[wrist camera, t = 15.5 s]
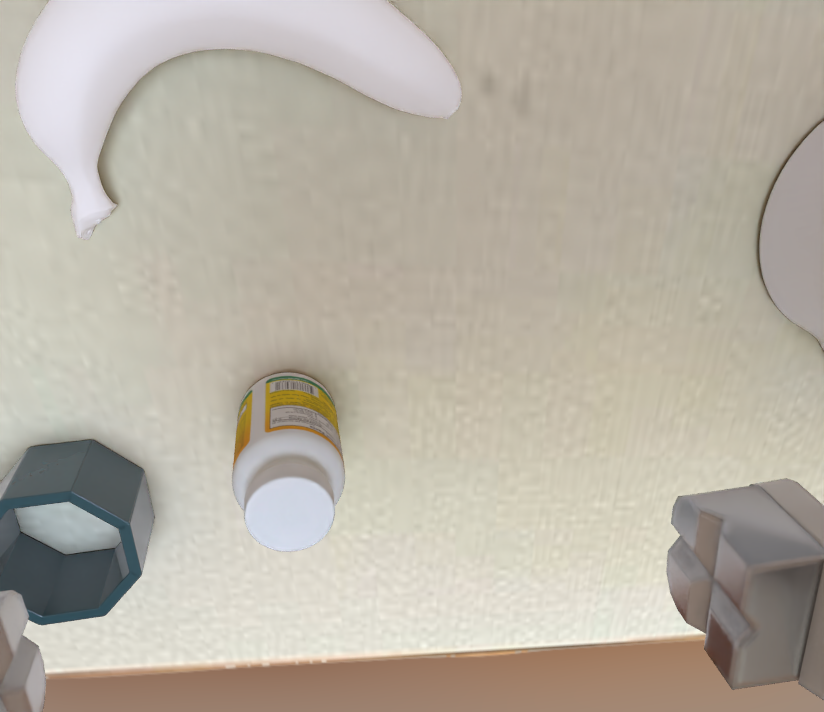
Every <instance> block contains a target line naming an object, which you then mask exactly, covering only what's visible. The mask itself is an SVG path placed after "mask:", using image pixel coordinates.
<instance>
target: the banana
mask: <svg viewBox="0 0 824 712" xmlns="http://www.w3.org/2000/svg"><path fill="white" fill-rule="evenodd" d="M212 49H238V50H248V51H256V52H261V53H266V54H270V55H274V56H277V57H281V58H284V59H288V60H291V61H294V62H297V63H300V64H303V65H305V66H308V67H310V68H312V69H315V70H317V71H319V72H322V73H324V74H326V75H329V76H331V77H333V78H335V79H337V80H339V81H340V82H342V83H344V84H346V85H348V86H350V87H351V88H353V89H355V90H357V91H359V92H360V93H362V94H364V95H366V96H368V97H370V98H372V99H374V100H376V101H378V102H380V103H383V104H385V105H387V106H389V107H392V108H394V109H397V110H400V111H403V112H406V113H410V114H415V115H420V116H424V117H431V118H440V117H443V118H445V119H448V118H449V117H450V116H451V115H452V114H453V113H454V112H455V111H457V110H458V108H459V105H460V102H461V97H462V89H461V84H460V81H459V79H458V77H457V74H456V72H455V71H454V69H453V67H452V65H451V64H450V62H449V61H448V59H447V58H446V56H445V55H444V54H443V53H442V52H441V50H440V49H439V48H438V47H437V46H436V45H435V44H434V42H433V41H432V40H431V39H430V38H429V37H428V36H427V35H426V34H425V33H424V32H423V31H421V30H420V29H419V28H418V27H417V26H416V25H415V24H414V23H413V22H412V21H410V20H409V19H408V18H407V17H406V16H405V15H403V14H402V13H401V12H400V11H399V10H398V9H396V8H395V7H394V6H393V5H391V4H390V3H389V2H388V1H387V0H49V1H48V3H47V4H46V6H45V7H44V9H43V10H42V12H41V13H40V14H39V16H38V17H37V19H36V21H35V23H34V24H33V26H32V28H31V30H30V32H29V34H28V36H27V38H26V40H25V43H24V46H23V48H22V51H21V54H20V58H19V63H18V67H17V74H16V83H15V88H16V102H17V106H18V111H19V114H20V117H21V119H22V122H23V124H24V127H25V129H26V131H27V132H28V134H29V135H30V137H31V139H32V140H33V142H34V143H35V144H36V145H37V147H38V148H39V149H40V150H41V151H42V152H43V153H44V154H45V155H46V156H47V157H48V158H50V159H51V160H52V162H53V163H54V164H55V165H56V166H57V167H58V168H59V169H60V171H61V172H62V174H63V175H64V176H65V178H66V180H67V182H68V185H69V187H70V190H71V194H72V204H71V216H72V219H73V223H74V227H75V231H76V234H77V236H78V238H83V239H84V240H88V239H89V238H90V237H91V235H92V233H93V230H94V228H95V226H96V224H99V223H100V222H101V221H102V220H104V219H105V218H107V217H109V216H110V213H111V211H112V210H113V209H114V208H115V207H116V206H117V205H118V204H115V203H113V202H112V201H111V200H110V198H109V197H108V196H107V195H106V193H105V191H104V189H103V187H102V184H101V181H100V177H99V174H98V169H97V164H98V159H99V156H100V153H101V150H102V147H103V144H104V141H105V138H106V135H107V133H108V130H109V127H110V125H111V122H112V120H113V118H114V116H115V114H116V112H117V110H118V108H119V106H120V105H121V103H122V101H123V100H124V98H125V97H126V96H127V94H128V93H129V91H130V90H131V89H132V88H133V87H134V86H135V84H136V83H137V82H138V81H139V80H140V79H141V78H142V77H143V76H144V75H145V74H147V73H148V72H149V71H150V70H152V69H153V68H155V67H156V66H158V65H160V64H161V63H163V62H165V61H167V60H169V59H172V58H174V57H177V56H180V55H184V54H187V53H191V52H196V51H203V50H212Z"/></svg>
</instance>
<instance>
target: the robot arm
mask: <svg viewBox="0 0 824 712" xmlns="http://www.w3.org/2000/svg"><path fill="white" fill-rule="evenodd" d="M759 256H760V266H761V271H762V276H763V279H764V283H765V286H766V288H767V291H768V293H769V295H770V297H771V298H772V300H773V302H774V303H775V305H776V306H777V307H778V309H779V310H780V311H781V312H782V313H783V314H784V315H785V316H786V317H787V318H788V319H789V320H790V321H792V322H793V323H794V324H796V325H798V326H799V327H801V328H802V329H804V330H806V331H807V332H809V333H810V334H812V335H813V336H814V337H815V338H817V339H818V341H819V343H820V345H821V347H822V349H823V351H824V121H823V122H821V123H820V124H819V125H818V126H817V127H816V128H815V129H814V130H813V131H812V132H811V133H810V134H809V135H808V136H807V137H806V138H805V139H804V141H803V142H802V143H801V144H800V145H799V147H798V148H797V149H796V150H795V152H794V153H793V154H792V156H791V157H790V159H789V160H788V162H787V163H786V165H785V166H784V168H783V170H782V172H781V173H780V175H779V177H778V179H777V181H776V183H775V185H774V187H773V189H772V192H771V194H770V197H769V200H768V202H767V205H766V209H765V212H764V216H763V220H762V225H761V231H760V242H759ZM671 524H672V525H673V526H674V528H675V529H676V530H677V531H678V533H679V534H680V537H679V538H678V539H677V540H676V542H675V543H674V544H673V545H672V546H671V548H670V549H669V550H668V557H667V577H668V583H669V588H670V593H671V595H672V598H673V600H674V602H675V605H676V607H677V609H678V611H679V612H680V614H681V615H682V617H683V618H684V620H685V621H686V623H688V624H690V625H691V626H693V627H695V628H697V629H699V630H701V631H702V632H704V633H706V638H705V646H704V649H705V651H706V652H707V654H708V655H709V657H710V658H711V660H712V661H713V662H714V664H715V665H716V666H717V668H718V670H719V671H720V673H721V674H722V676H723V677H724V678H725V680H726V681H727V683H728V684H729V686H730V687H731V689H732V690H735V689H741V688H748V687H755V686H762V685H769V684H775V683H782V682H789V681H796V680H799V682H798V683H799V684H800V685H801V686H803V687H804V688H806V689H807V690H809V691H810V692H812V693H813V694H815V695H816V696H818V697H819V698H821V699H822V700H824V506H823V505H822V504H821V503H820V502H819V501H818V500H817V499H816V498H814V497H813V496H812V495H811V494H810V493H809V492H808V491H807V490H805V489H804V488H803V487H802V486H801V485H800V484H799V483H798V482H795V481H793V480H790V479H787V478H786V479H780V480H774V481H768V482H762V483H756V484H751V485H750V486H746V487H739V488H732V489H725V490H719V491H712V492H705V493H698V494H691V495H684V496H678V498H677V500H676V502H675V504H674V506H673V511H672V519H671ZM28 619H29V615H28V612H27V609H26V607H25V604H24V601H23V599H22V596H21V594H19V593H17V592H15V591H13V590H8V591H0V712H43V709H44V700H45V687H46V678H45V670H44V662H43V659H42V655H41V652H40V649H39V646H38V645H36V644H35V643H34V642H32V641H31V640H29V639H28V638H26V637H25V636H23V635H22V634H23V632H24V629H25V626H26V624H27V621H28Z"/></svg>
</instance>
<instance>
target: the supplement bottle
mask: <svg viewBox="0 0 824 712" xmlns="http://www.w3.org/2000/svg"><path fill="white" fill-rule="evenodd" d="M344 483H345V469H344V461H343V455H342V448H341V442H340V436H339V429H338V422H337V415H336V409H335V405H334V402H333V399H332V397H331V396H330V394H329V393H328V391H327V390H326V389H325V388H324V387H323V386H322V385H321V384H320V383H319V382H317V381H316V380H314V379H312V378H310V377H308V376H305V375H302V374H298V373H278V374H274V375H270V376H268V377H265V378H263V379H262V380H260V381H258V382H257V383H256V384H254V385H253V386H252V387H251V388H250V389H249V390H248V391H247V393H246V394H245V396H244V398H243V400H242V402H241V405H240V408H239V413H238V423H237V431H236V442H235V453H234V463H233V473H232V486H233V491H234V495H235V497H236V500H237V502H238V504H239V505H240V507H241V508H242V509H243V510H244V519H245V523H246V526H247V529H248V531H249V532H250V534H251V535H252V537H253V538H254V539H255V540H256V541H258V542H259V543H260V544H262V545H264V546H266V547H268V548H270V549H273V550H276V551H284V552H291V551H299V550H303V549H306V548H308V547H311V546H313V545H314V544H316V543H317V542H319V541H320V540H321V539H322V538H323V537H324V536H325V535H326V534H327V533H328V531H329V530H330V528H331V526H332V524H333V521H334V516H335V505H336V504H337V502H338V501H339V499H340V497H341V494H342V492H343V488H344Z"/></svg>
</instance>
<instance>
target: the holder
mask: <svg viewBox="0 0 824 712" xmlns="http://www.w3.org/2000/svg"><path fill="white" fill-rule="evenodd" d="M61 502H71V503H72V504H74V505H76V506H78V507H80V508H82V509H83V510H85V511H87V512H89V513H91V514H92V515H94V516H96V517H98V518H100V519H102V520H103V521H105V522H107V523H109V524H111V525H113V526H114V527H116V528H118V529H119V533H120V537H121V542H120V543H119V545H118V546H117V547H116V548H115V549H108V550H101V551H93V552H86V553H79V554H72V555H64V554H62V553H60V552H58V551H56V550H54V549H52V548H50V547H48V546H46V545H44V544H42V543H40V542H38V541H37V540H35V539H33V538H31V537H29V536H27V535H25V534H23V533H21V532H20V528H19V525H18V522H17V519H16V516H15V512H14V508H22V507H30V506H38V505H45V504H53V503H61ZM154 518H155V516H154V512H153V507H152V503H151V498H150V494H149V489H148V485H147V480H146V476H145V471H144V470H143V469H142V468H140V467H138V466H137V465H135V464H133V463H132V462H130V461H128V460H126V459H125V458H123V457H121V456H120V455H118V454H116V453H115V452H113V451H111V450H109V449H108V448H106V447H104V446H103V445H101V444H99V443H98V442H96V441H94V440H84V441H75V442H67V443H59V444H50V445H42V446H34V447H30V448H28V449H27V450H26V451H25V453H24V454H23V455H22V456H21V458H20V459H19V460H18V461H17V463H16V464H15V465H14V466H13V467H12V469H11V470H10V471H9V472H8V474H7V475H6V476H5V477H4V479H3V480H2V481H1V482H0V591H8V590H13V591H15V592H17V593H19V594H21V596H22V599H23V601H24V604H25V607H26V609H27V612H28V615H29V619H28V620H30V621H32V622H34V623H36V624H38V625H47V624H54V623H61V622H67V621H74V620H81V619H88V618H94V617H101V616H105V615H107V613H108V612H109V611H110V610H111V609H112V608H113V607H114V606H115V604H116V603H117V602H118V601H119V600H120V599H121V598H122V597H123V596H124V594H125V593H126V592H127V591H128V590H129V589H130V588H131V587H132V585H133V584H134V583H135V582H136V581H137V580H138V579H139V578H140V577H141V575H142V572H143V567H144V563H145V558H146V554H147V549H148V545H149V541H150V536H151V532H152V527H153V523H154Z"/></svg>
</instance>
